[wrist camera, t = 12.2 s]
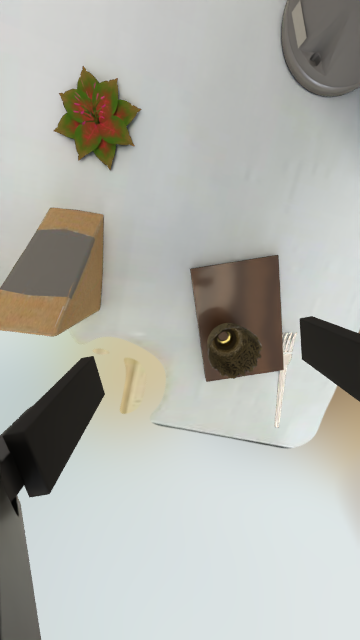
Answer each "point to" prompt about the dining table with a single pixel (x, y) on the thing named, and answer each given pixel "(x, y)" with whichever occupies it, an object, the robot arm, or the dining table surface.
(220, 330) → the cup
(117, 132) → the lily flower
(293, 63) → the robot arm
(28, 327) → the sandwich container
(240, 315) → the walnut board
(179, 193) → the dining table surface
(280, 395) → the fork
